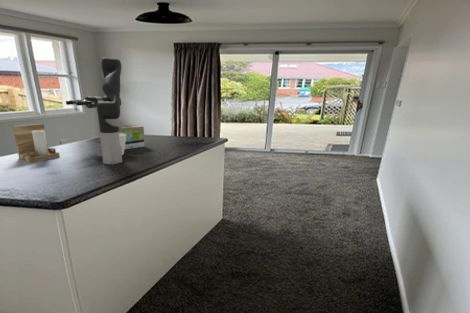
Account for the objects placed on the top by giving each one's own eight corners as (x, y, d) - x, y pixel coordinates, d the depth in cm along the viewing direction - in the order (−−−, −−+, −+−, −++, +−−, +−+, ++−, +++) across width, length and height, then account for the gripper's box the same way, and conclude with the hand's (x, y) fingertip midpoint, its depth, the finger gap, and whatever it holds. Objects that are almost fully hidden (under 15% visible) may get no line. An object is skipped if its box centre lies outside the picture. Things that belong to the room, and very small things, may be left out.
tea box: (125, 150, 165) (123, 128, 161) (117, 147, 171) (115, 126, 167) (145, 146, 177) (143, 126, 173) (137, 144, 183) (135, 124, 179)
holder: (59, 156, 144) (55, 126, 139) (31, 162, 132) (25, 129, 128) (47, 153, 151) (42, 123, 146) (19, 158, 139) (12, 126, 134)
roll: (50, 153, 140) (46, 130, 137) (39, 156, 136) (34, 132, 132) (45, 152, 143) (41, 129, 140) (33, 154, 138) (29, 131, 135)
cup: (120, 157, 147) (118, 137, 144) (102, 156, 149) (100, 135, 146) (131, 153, 159) (130, 134, 155) (115, 151, 161) (113, 132, 157)
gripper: (85, 96, 166) (62, 96, 151) (102, 97, 161) (79, 97, 147) (86, 107, 168) (63, 108, 153) (103, 108, 163) (81, 110, 148)
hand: (71, 103), depth 150 cm, fingers open, 8 cm apart
